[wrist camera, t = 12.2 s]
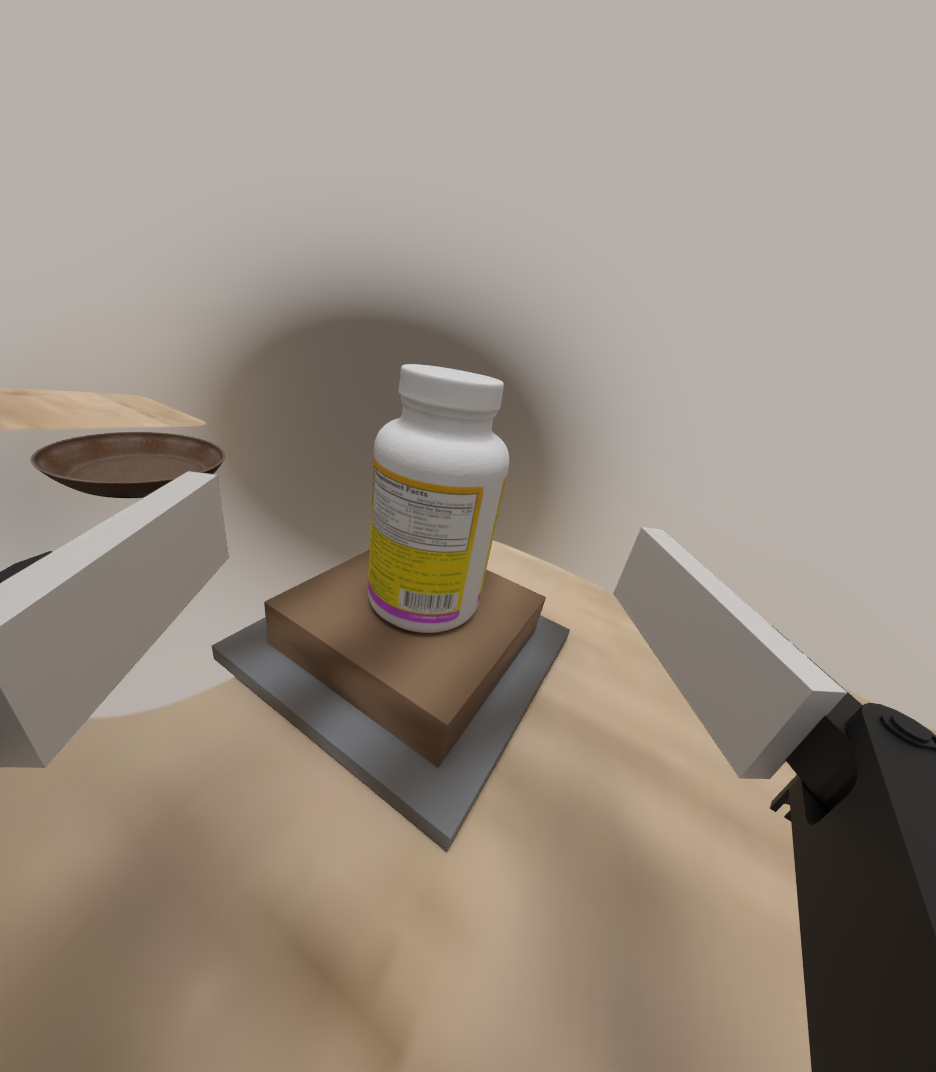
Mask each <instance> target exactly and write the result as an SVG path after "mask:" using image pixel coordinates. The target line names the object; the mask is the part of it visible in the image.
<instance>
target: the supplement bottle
mask: <svg viewBox="0 0 936 1072" xmlns="http://www.w3.org/2000/svg"><path fill="white" fill-rule="evenodd" d="M503 386H504V384H503V382H502V381H500V380H498V379H494V378H491V377H488V376H484V375H480V374H475V373H470V372H465V371H460V370H455V369H449V368H443V367H436V366H427V365H417V364H407V365H402V367H401V376H400V387H399V393H400V394H401V395H402V396H401V400H402V402H403V403H404V405H403V411H402V416H401V418H399V419H395V420H393V421H391V422H389V423H387V424H386V425H385V426H384V427H383V428H382V429H381V430H380V431H379V433H378V435H377V437H376V440H375V445H374V463H373V491H372V510H371V530H370V531H371V532H370V550H369V571H368V596H369V600H370V603H371V605H372V607H373V608H374V610H375V611H376V612H377V614H379V615H380V616H381V617H382V618H383V619H385V620H386V621H388V622H390V623H391V624H393V625H395V626H398V627H400V628H403V629H406V630H409V631H414V632H422V633H434V632H442V631H447V630H450V629H453V628H455V627H457V626H459V625H461V624H463V623H464V622H466V621H467V620H468V619H469V618H470V617H471V616H472V615H473V614H474V612H475V611H476V609H477V607H478V603H479V599H480V596H481V591H482V587H483V582H484V578H485V573H486V568H487V563H488V559H489V554H490V549H491V545H492V540H493V535H494V531H495V526H496V522H497V517H498V512H499V508H500V502H501V498H502V494H503V489H504V485H505V481H506V477H507V471H508V466H509V454H508V450H507V448H506V446H505V444H504V443H503V441H502V440H501V439H500V438H499V437H498V436H497V435H496V434H494V433H493V432H492V420H493V417H495V416H496V415H497V410H498V409H500V405H501V399H502V393H503Z"/></svg>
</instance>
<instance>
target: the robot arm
mask: <svg viewBox="0 0 936 1072" xmlns="http://www.w3.org/2000/svg"><path fill="white" fill-rule="evenodd" d="M228 558H229V555H228V547H227V540H226V533H225V526H224V518H223V511H222V503H221V496H220V488H219V481H218V475H214V474H206V473H198V472H190V471H188V472H186V473H184V474H183V475H181V476H179V477H178V478H176V479H174V480H173V481H171V482H169V483H168V484H166V485H164V486H163V487H161V488H159V489H158V490H156V491H154V492H153V493H151V494H149V495H148V496H146V497H144V498H142V499H141V500H139V501H137V502H136V503H134V504H132V505H131V506H129V507H127V508H126V509H124V510H122V511H121V512H119V513H117V514H116V515H114V516H112V517H111V518H109V519H107V520H106V521H104V522H102V523H101V524H99V525H97V526H96V527H94V528H92V529H91V530H89V531H87V532H85V533H84V534H82V535H80V536H79V537H77V538H76V539H74V540H72V541H70V542H69V543H67V544H65V545H64V546H62V547H60V548H59V549H57V550H55V551H54V552H53V551H52V552H51V551H49V552H46V553H44V554H41V555H38V556H35V557H33V558H29V559H27V560H24V561H21V562H18V563H15V564H13V565H12V566H10V567H8V568H6V569H5V570H3V571H1V572H0V767H34V768H45V767H46V766H47V765H48V764H49V762H50V761H51V760H52V759H53V758H54V757H55V756H56V754H57V753H58V752H59V751H60V750H61V749H62V748H63V746H64V745H65V744H66V743H67V742H68V741H69V740H70V738H71V737H72V736H73V735H74V734H75V733H76V732H77V730H78V729H79V728H80V727H81V726H82V725H83V724H84V722H85V721H86V720H87V719H88V718H89V717H90V715H91V714H92V713H93V712H94V711H95V710H96V709H97V708H98V706H99V705H100V704H101V703H102V702H103V701H104V700H105V698H106V697H107V696H108V695H109V694H110V693H111V691H112V690H113V689H114V688H115V687H116V686H117V685H118V684H119V682H120V681H121V680H122V679H123V678H124V677H125V675H126V674H127V673H128V672H129V671H130V670H131V669H132V668H133V666H134V665H135V664H136V663H137V662H138V661H139V660H140V658H141V657H142V656H143V655H144V654H145V653H146V651H147V650H148V649H149V648H150V647H151V646H152V645H153V644H154V642H155V641H156V640H157V639H158V638H159V637H160V636H161V634H162V633H163V632H164V631H165V630H166V629H167V627H168V626H169V625H170V624H171V623H172V622H173V621H174V620H175V618H176V617H177V616H178V615H179V614H180V613H181V612H182V610H183V609H184V608H185V607H186V606H187V604H189V602H190V601H191V600H192V599H193V598H194V597H195V596H196V594H197V593H198V592H199V591H200V590H201V589H202V588H203V586H204V585H205V584H206V583H207V582H208V581H209V579H210V578H211V577H212V576H213V575H214V574H215V573H216V572H217V570H218V569H219V568H220V567H221V566H222V565H223V564H224V563H225V561H226V560H227V559H228ZM613 594H614V595H615V596H616V598H617V599H618V601H619V602H620V604H621V605H622V607H623V608H624V610H625V611H626V613H627V614H628V616H629V617H630V618H631V620H632V621H633V623H634V624H635V626H636V627H637V629H638V630H639V632H640V633H641V635H642V636H643V637H644V639H645V640H646V642H647V643H648V645H649V646H650V648H651V649H652V651H653V652H654V654H655V655H656V657H657V658H658V659H659V661H660V662H661V664H662V665H663V667H664V668H665V670H666V671H667V673H668V674H669V676H670V677H671V679H672V680H673V681H674V683H675V684H676V686H677V687H678V689H679V690H680V692H681V693H682V695H683V696H684V698H685V699H686V700H687V702H688V703H689V705H690V706H691V708H692V709H693V711H694V712H695V714H696V715H697V717H698V718H699V720H700V721H701V722H702V724H703V725H704V727H705V728H706V730H707V731H708V733H709V734H710V736H711V737H712V739H713V740H714V742H715V743H716V744H717V746H718V747H719V749H720V750H721V752H722V753H723V755H724V756H725V758H726V759H727V761H728V762H729V764H730V765H731V766H732V768H733V769H734V771H735V772H736V774H737V775H738V777H739V778H749V779H770V778H771V777H772V776H773V775H774V774H775V773H776V772H777V771H778V769H779V768H780V767H781V766H782V765H783V764H784V763H785V762H786V761H787V763H788V764H789V765H790V766H791V768H792V769H793V770H794V771H795V772H796V774H797V775H796V776H795V777H794V778H793V779H792V780H791V782H790V783H789V784H788V785H787V786H786V787H785V788H784V789H783V790H782V791H781V792H780V793H779V794H778V795H777V796H776V797H775V799H774V800H773V801H772V803H771V806H770V809H771V810H773V811H775V812H776V811H777V810H778V809H779V808H780V807H781V806H782V805H783V804H789V805H790V811H789V812H788V813H787V814H786V815H785V816H784V818H786V819H788V820H789V821H791V823H792V835H793V847H794V860H795V872H796V884H797V896H798V909H799V921H800V933H801V946H802V958H803V970H804V982H805V995H806V1007H807V1019H808V1031H809V1044H810V1056H811V1068H812V1072H936V735H935V734H933V733H932V732H931V731H930V730H928V729H927V728H925V727H924V726H923V725H921V724H920V723H918V722H917V721H915V720H913V719H912V718H910V717H908V716H906V715H904V714H902V713H900V712H899V711H897V710H894V709H892V708H889V707H886V706H883V705H881V704H875V703H867V704H864V705H862V704H861V703H860V702H858V701H857V700H856V699H855V698H854V697H853V696H852V695H850V694H849V693H848V692H847V691H846V690H845V689H844V688H842V687H841V686H840V685H839V684H838V683H837V682H836V681H834V680H833V679H832V678H831V677H830V676H829V675H828V674H826V673H825V672H824V671H823V670H822V669H821V668H820V667H819V666H817V665H816V664H815V663H814V662H813V661H812V660H811V659H809V658H808V657H806V656H805V655H804V654H803V652H801V651H800V650H799V649H798V648H797V647H796V646H795V645H793V644H791V643H790V641H789V640H788V639H787V638H785V637H784V636H783V635H782V634H781V633H780V632H779V631H778V630H776V629H775V628H774V627H773V626H771V625H770V624H769V623H768V622H766V621H765V620H764V619H763V618H762V617H761V616H760V615H759V614H757V613H756V612H755V611H754V610H753V609H752V608H750V607H749V606H748V605H747V604H746V603H745V602H744V601H743V600H741V599H740V598H739V597H738V596H737V595H736V594H735V593H733V592H732V591H731V590H730V589H729V588H728V587H727V586H726V585H724V584H723V583H722V582H721V581H720V580H719V579H717V578H716V577H715V576H714V575H713V574H712V573H711V572H710V571H709V570H707V569H706V568H705V567H704V566H703V565H701V564H700V563H699V562H698V561H697V560H696V559H695V558H694V557H693V556H692V555H690V554H689V553H688V552H687V551H686V550H685V549H684V548H682V547H681V546H680V545H679V544H678V543H677V542H676V541H674V540H673V539H672V538H671V537H670V536H669V535H668V534H666V533H665V532H664V531H663V530H660V529H653V528H645V527H641V530H640V532H639V534H638V536H637V539H636V541H635V543H634V546H633V548H632V551H631V553H630V555H629V558H628V560H627V562H626V565H625V567H624V570H623V572H622V574H621V577H620V579H619V581H618V584H617V586H616V588H615V591H614V593H613Z"/></svg>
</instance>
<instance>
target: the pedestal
mask: <svg viewBox="0 0 936 1072" xmlns="http://www.w3.org/2000/svg"><path fill="white" fill-rule="evenodd" d="M368 571H369V550H368V551H366V552H364V553H362V554H360V555H358V556H356V557H354V558H352V559H350V560H348V561H346V562H344V563H342V564H340V565H338V566H336V567H334V568H332V569H330V570H328V571H326V572H324V573H322V574H320V575H318V576H316V577H314V578H312V579H310V580H308V581H306V582H303V583H301V584H299V585H298V586H295V587H294V588H291V589H289V590H288V591H286V592H283V593H281V594H279V595H277V596H275V597H273V598H271V599H269V600H267V601H265V602H264V603H265V615H266V617H265V618H263V619H261V620H260V621H257V622H256V623H254V624H252V625H250V626H248V627H246V628H244V629H242V630H240V631H239V632H237V633H235V634H233V635H231V636H229V637H227V638H225V639H223V640H222V641H220V642H218V643H216V644H214V645H212V650H213V656H214V659H215V660H216V661H217V662H219V663H220V664H221V665H222V666H223V667H225V668H226V669H227V670H228V671H229V672H230V673H232V674H233V675H234V676H235V677H237V678H238V679H239V680H240V681H241V682H243V683H244V684H245V685H246V686H247V687H249V688H250V689H251V690H252V691H253V692H255V693H256V694H257V695H258V696H259V697H261V698H262V699H263V700H264V701H265V702H267V703H268V704H269V705H270V706H272V707H273V708H274V709H275V710H276V711H278V712H279V713H280V714H281V715H282V716H284V717H285V718H286V719H287V720H288V721H290V722H291V723H292V724H293V725H294V726H296V727H297V728H298V729H299V730H300V731H302V732H303V733H304V734H305V735H307V736H308V737H309V738H310V739H311V740H313V741H314V742H315V743H316V744H317V745H319V746H320V747H321V748H322V749H323V750H325V751H326V752H327V753H328V754H329V755H331V756H332V757H333V758H334V759H335V760H337V761H338V762H339V763H340V764H342V765H343V766H344V767H345V768H346V769H348V770H349V771H350V772H351V773H352V774H354V775H355V776H356V777H357V778H358V779H360V780H361V781H362V782H363V783H364V784H366V785H367V786H368V787H369V788H370V789H372V790H373V791H374V792H375V793H377V794H378V795H379V796H380V797H381V798H383V799H384V800H385V801H386V802H387V803H389V804H390V805H391V806H392V807H393V808H395V809H396V810H397V811H398V812H399V813H401V814H402V815H403V816H404V817H405V818H407V819H408V820H409V821H410V822H412V823H413V824H414V825H415V826H416V827H418V828H419V829H420V830H421V831H422V832H424V833H425V834H426V835H427V836H428V837H430V838H431V839H432V840H433V841H434V842H436V843H437V844H438V845H439V846H441V847H442V848H443V849H444V850H445V851H448V849H449V847H450V846H451V844H452V842H453V840H454V838H455V837H456V835H457V833H458V831H459V830H460V828H461V826H462V824H463V822H464V821H465V819H466V817H467V815H468V814H469V812H470V810H471V808H472V806H473V805H474V803H475V801H476V799H477V798H478V796H479V794H480V792H481V790H482V789H483V787H484V785H485V783H486V782H487V780H488V778H489V776H490V774H491V773H492V771H493V769H494V767H495V766H496V764H497V762H498V760H499V759H500V757H501V755H502V753H503V751H504V750H505V748H506V746H507V744H508V743H509V741H510V739H511V737H512V735H513V734H514V732H515V730H516V728H517V727H518V725H519V723H520V721H521V719H522V718H523V716H524V714H525V712H526V711H527V709H528V707H529V705H530V703H531V702H532V700H533V698H534V696H535V695H536V693H537V691H538V689H539V688H540V686H541V684H542V682H543V680H544V679H545V677H546V675H547V673H548V672H549V670H550V668H551V666H552V664H553V663H554V661H555V659H556V657H557V656H558V654H559V652H560V650H561V648H562V647H563V645H564V643H565V641H566V639H567V637H568V634H569V631H570V630H569V629H567V628H565V627H563V626H561V625H559V624H557V623H555V622H553V621H551V620H549V619H547V618H545V617H543V616H541V615H540V614H541V611H542V608H543V605H544V602H545V599H546V597H544V596H542V595H540V594H538V593H536V592H533V591H531V590H529V589H527V588H525V587H523V586H520V585H518V584H516V583H514V582H512V581H510V580H508V579H505V578H503V577H501V576H499V575H497V574H495V573H492V572H490V571H488V570H486V573H485V578H484V582H483V587H482V591H481V596H480V599H479V603H478V607H477V609H476V611H475V612H474V614H473V615H472V616H471V617H470V618H469V619H468V620H467V621H466V622H464V623H463V624H461V625H459V626H457V627H455V628H453V629H450V630H447V631H442V632H434V633H422V632H414V631H409V630H406V629H403V628H400V627H398V626H395V625H393V624H391V623H390V622H388V621H386V620H385V619H383V618H382V617H381V616H380V615H379V614H377V612H376V611H375V610H374V608H373V607H372V605H371V603H370V600H369V596H368Z"/></svg>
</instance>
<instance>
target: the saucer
mask: <svg viewBox="0 0 936 1072" xmlns="http://www.w3.org/2000/svg"><path fill="white" fill-rule="evenodd" d="M224 458H225V454H224V451H223V450H222V449H221V448H220V447H218V446H217V445H215V444H213V443H211V442H208V441H205V440H202V439H198V438H194V437H189V436H183V435H176V434H166V433H152V432H121V433H105V434H96V435H87V436H83V437H76V438H71V439H67V440H62V441H59V442H56V443H52V444H50V445H48V446H45V447H43V448H41V449H39V450H38V451H36V452H35V453H34V454H33V455H32V457H31V463H32V465H33V466H34V467H35V468H37V469H38V470H39V471H41V472H42V473H43V474H45V475H47V476H48V477H50V478H51V479H53V480H55V481H57V482H59V483H61V484H64V485H65V486H68V487H70V488H73V489H75V490H78V491H81V492H84V493H88V494H92V495H97V496H103V497H112V498H144V497H146V496H148V495H149V494H151V493H153V492H154V491H156V490H158V489H159V488H161V487H163V486H164V485H166V484H168V483H169V482H171V481H173V480H174V479H176V478H178V477H179V476H181V475H183V474H184V473H186V472H188V471H190V472H198V473H206V474H213V473H215V471H216V470H217V469H218V468H219V467H220V465H221V464H222V462H223V461H224Z"/></svg>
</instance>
